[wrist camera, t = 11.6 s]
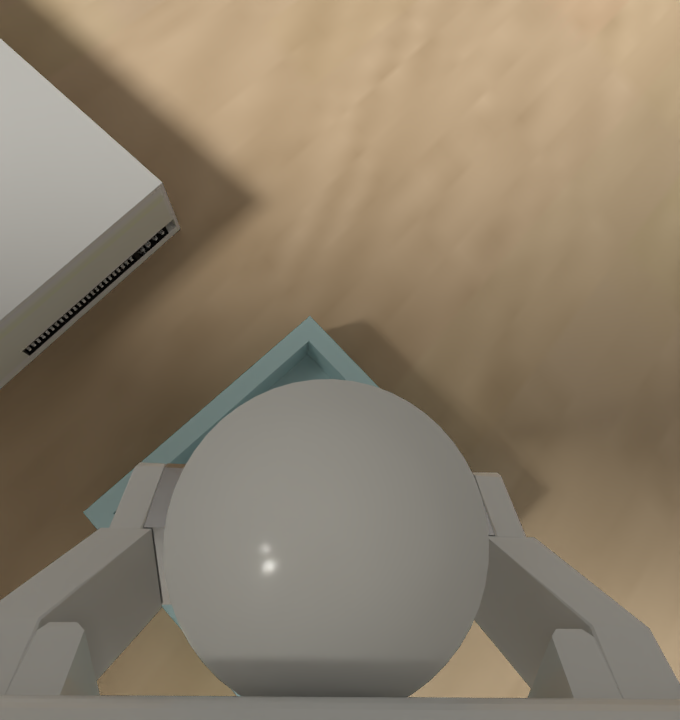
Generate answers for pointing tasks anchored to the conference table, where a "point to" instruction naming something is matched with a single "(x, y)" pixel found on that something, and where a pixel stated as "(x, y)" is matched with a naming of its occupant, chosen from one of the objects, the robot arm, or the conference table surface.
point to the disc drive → (64, 213)
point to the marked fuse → (326, 544)
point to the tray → (276, 368)
